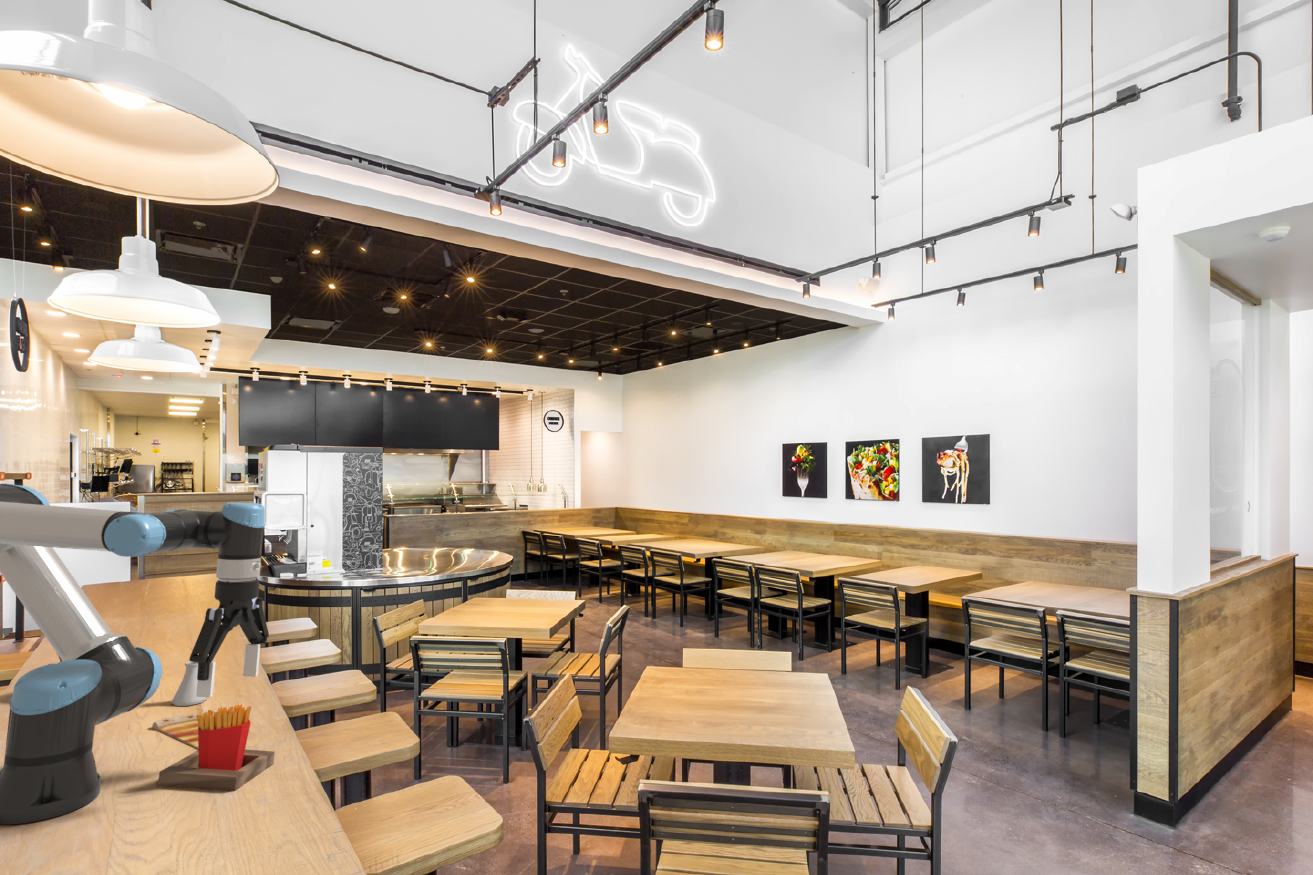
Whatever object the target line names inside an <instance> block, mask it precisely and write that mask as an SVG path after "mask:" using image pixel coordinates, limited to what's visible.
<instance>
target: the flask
mask: <svg viewBox="0 0 1313 875" xmlns="http://www.w3.org/2000/svg"><path fill="white" fill-rule="evenodd" d="M184 666H185V672H184V675H183V678H182V680H181V682H180V684H179V686H178V688H177V691H176V693H175V694H174V696H173V698H172V700H171V701H170V704H172V705H174V706H176V707H177V706H178V707H179V706H181V707H188V706H189V707H190V706H193V705H197V704H198V705H199V704H201V703H203V702H205V701H206V700H208V697H196V693H197V682H198V680H197V673H198V663H197V662H192V661H187V662H185V663H184Z"/></svg>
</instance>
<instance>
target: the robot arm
mask: <svg viewBox="0 0 1313 875" xmlns="http://www.w3.org/2000/svg"><path fill="white" fill-rule="evenodd" d="M265 511H266V510H265V506H264V505H263V504H262V503H257V502H226V503H224V504H223V505H222V509H221V511H210V510H209V511H207V510H205V511H204V510H190V509H184V508H183V509H169V510H164V511H163V512H153V513H152V512H136V511H121V510H110V509H109V510H108V509H97V508H84V507H73V506H72V507H71V506H58V505H51V504H50V502H49V501H48V499H47V498H46V497H45V496H44V495H43V494H42V493H41V492H40V491H38V490H37V489H34V488H32V487H29V486H26V485H20V484H19V485H17V484H12V483H0V574H1V575H2V576H3V578H4V580H5V582H6V583H7V585H9V586H10V588H11V589H12V591H13V593H14V594H15V595H16V597H17V599H19V601H20V603H21V604H22V606H23V607H24V608H25V610H26V611H27V612H28V614H29V615H30V617H31V618H32V619H33V621H34V622H35V624H36V626H37V627H38V628H39V629H40V631H41V633H42V634H43V635H44V637H45V638H46V640H47V642H49V644H50V646H51V647H52V648H53V650H54V652H55V653H56V652H57V654H58V655H59V657H60V658H61V660H62V662H60V661H59V662H57V663H48V664H46V665H41V666H39V667H36V668H33V669H31V670H30V671H28V672H26V673H24V674H23V675H22V676H20V677H19V678H18V679H17V681H16V682H15V684H14V686H13V690H12V695H11V697H10V700H9V714H8V715H9V716H8V724H7V732H6V743H5V744H6V745H5V752H4V754H5V755H4V761H3V762H4V763H3V767H2V769H1V770H0V825H17V824H19V825H21V824H27V823H33V822H34V823H35V822H40V821H44V820H48V819H52V818H56V817H60V816H63V815H66V814H68V813H71V812H74V811H76V810H78V809H81V808H83V807H85V806H86V805H88V804H90V803H91V802H93V801H94V800H95V799H96V798H98V796H99V795H100V792H101V784H102V778H101V776H100V774H99V772H98V771H97V765H96V760H95V756H94V753H93V747H94V746H93V745H94V738H95V737H94V736H95V728H96V726H97V725H100V724H102V723H104V722H107V721H109V720H110V719H113V718H115V717H117V716H119V715H121V714H124V713H127V712H130V711H133V710H135V709H136V708H137V707H138V706H140V705H143V704H144V703H146V702H147V701H148V700H149V699H151V698H152V697H153V696H154V695H155V693H156V692H157V690H158V689H159V687H160V685H161V679H162V678H163V665H162V661H161V659H160V657H159V656H158V655H157V654H156V653H155V652H154V651H153V650H151V649H149V648H144V647H141V646H136V647H135V646H134V644H133V643H132V642H131V640H130V639H129V637H128V636H127V635H126V634H119V633H118V634H117V633H114V632H112V630H111V629H110V627H109V625H108V624H107V623H106V622H105V621H104V619H103V618H102V616H101V615H100V613H99V612H98V610H97V609H96V607H95V606H94V605H93V603H92V602H91V600H90V599H89V598H88V596H87V595H86V593H85V592H84V590H83V588H82V587H81V586H80V585H79V584H78V582H77V580H76V579H75V577H74V576H73V574H72V573H71V572H70V570H69V569H68V567H67V566H66V565H65V563H64V562H63V560H62V558H60V556H59V554H57V552H56V550H55V549H56V548H57V549H59V548H60V549H69V550H70V549H71V550H72V549H73V550H81V551H82V550H85V551H98V552H110V553H111V552H112V553H113V554H115V555H117V556H119V557H123V558H124V557H126V558H127V557H144V556H148V555H152V554H158V553H165V552H172V551H179V550H185V549H213V550H214V549H215V550H216V549H218V556H217V557H218V558H217V562H216V563H217V564H216V572H215V578H217V579H218V580H217V581H216V582H215V587H214V599H215V600H217V601H218V602H219V606H217V608H207V609H206V611H205V615H204V621H203V624H202V627H201V629H200V631H199V634H198V637H197V638H196V641H195V644H194V645H193V646H194V647H192V648H193V649H192V651H191V654H190V657H189V662H191V661H192V662H197V663H198V673H197V680H198V682H197V693H196V697H207V698H212V697H214V689H215V688H214V686H215V677H216V676H215V674H216V664H217V661H213V660H214V658H216V655H217V653H218V652H219V650H220V648H221V646H222V645H223V643H224V641H225V639H226V637H227V635H228V633H229V632H231V631H232V630H233V629H234V628H236V627H238V626H240V628H241V630H242V632H243V634H244V636H245V637H246V639H247V641H248V643H246V644H245V648H244V660H243V661H244V662H243V672H242V676H243V677H258V676H259V667H260V656H261V647H262V646H261V645H262V644H264V645H265V644H266V643H267V640H268V638H269V636H270V633H269V630H268V629H269V628H268V625H267V622H266V621H267V620H266V617H265V613H264V609H263V608H264V607H263V598H262V597H258V596H259V591H260V590H259V589H260V580H259V579H258V577H259V576H260V575H261V567H262V563H261V561H262V551H263V542H264V540H263V539H264V533H265V532H264V531H265V527H266V524H265V522H266V521H265V520H266V519H265V517H266V516H265V515H266V512H265ZM54 548H55V549H54ZM57 654H56V655H57ZM58 655H57V656H58ZM59 657H58V658H59Z"/></svg>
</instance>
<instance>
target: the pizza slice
mask: <svg viewBox="0 0 1313 875" xmlns="http://www.w3.org/2000/svg"><path fill="white" fill-rule="evenodd" d="M206 712H207V715H208V711H206ZM214 712H218V710H216V711H213V717H214ZM200 713H201V715H203V713H204V712H200ZM197 714H199V713H191V714H187V715H181V716H175V717H170V718H164V719H160V720H157V721H154V722H153V723H152V727H151V728H152V729H154V730H156V731H158V732H161V733H162V734H164V735H167V736H169V737H172V738H173V739H176V740H178V741H180V742H182V743H184V744H186V745H188V746H190V747H193V748H194V749H197V750H198V727H199V724H198V721H197V717H196V716H197Z"/></svg>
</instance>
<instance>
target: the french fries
mask: <svg viewBox="0 0 1313 875" xmlns="http://www.w3.org/2000/svg"><path fill="white" fill-rule="evenodd" d="M251 710H252V706H247V707H243V705H242V704H236V705H235V706H230V707H229V708H228V709H227V707H219V708H218V709H217V711H218V712H216V711H214V710H212V709H207V711H206V712H200V713H199V714H198V713H196V714H197V716H196V717H197V721H198V724H199V727H198V749H197V751H198V754H199V767H198V768H204V769H218V770H233V771H238V770H239V769H241V768H243V767H242V762H243V757H244V752H245V749H246V746H247V743H248V742H247V741H248V737H249V732H250V728H251V723H252V722H251V720H250V719H249V718H250V713H251ZM207 712H208V715H207ZM213 712H214V717H213ZM201 713H203V715H201Z"/></svg>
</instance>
